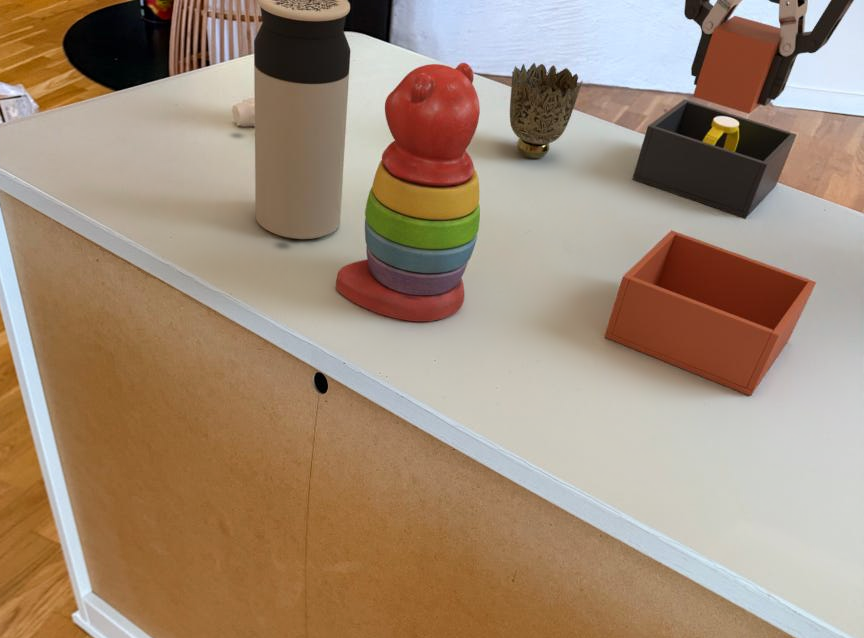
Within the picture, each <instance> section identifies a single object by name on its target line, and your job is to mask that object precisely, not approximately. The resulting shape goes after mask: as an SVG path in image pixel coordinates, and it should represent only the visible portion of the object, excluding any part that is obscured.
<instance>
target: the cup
mask: <svg viewBox="0 0 864 638" xmlns="http://www.w3.org/2000/svg"><path fill="white" fill-rule="evenodd" d="M557 71H558V69H557V68H556V66H555V65H551V66H550V67H549V70H548V71H547V68H546V66H545V65H544V64H543V63H541V64H539V65H536V63H535V62H533V63H532V64H531V66H530V67H529V68H528V69H526V66H525V63H523V64H522V66H521V68H518V67H517V66H516V65H515V66H514V68H513V71H512V72H511V87H510V88H511V89H510V100H509V101H510V102H509V122H510V128H511V130H512V132H513V134H514V135H515V136H516V137H517V138H518V139H517V141H516V149H517V150H516V151H517V152H518V153H519V154H520V155H522V156H524V157H526V158H530V159H540V158H544V157H546V156H547V154H548V153H549V151H550V144H551V143H553V142H555V141H557V140H558V139H560V137H561V136H562V135H563V134H564V132H565V130H566V128H567V127H568V124H569V122H570V119H571V116H572V114H573V111H574V108H575V105H576V102H577V99H578V96H579V93H580V90H581V88H582V85H583V81H584V80H583V79H581V81H579V84H578V80H579V76H578V73H575V74H574V75H573V74H572V72H571V70H570V69H568V68H567V67H565V68H564V69H562V70H560V71H558V72H557Z"/></svg>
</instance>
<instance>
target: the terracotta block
mask: <svg viewBox="0 0 864 638" xmlns="http://www.w3.org/2000/svg"><path fill="white" fill-rule="evenodd" d="M779 41H780V27H777V26H773V25H770V24H766V23H762V22H759V21H756V20H752V19H748V18H744V17H741V16H738V15H733V16H732V17H730V18H729V19H728V20H727V21H725V22H724V23H722V24H720V25H719V26H717V27H715V28H714V31H713V34H712V37H711V40H710V43H709V47H708V50H707V53H706V56H705V59H704V62H703V66H702V69H701V72H700V75H699V78H698V81H697V85H695V88H694V91H693V94H692V97H693V98H696V99H700V100H703V101H706V102H710V103H711V104H716V105H720V106H723V107H725V108H729V109H732V110H735V111H738V112H741V113H745V114H748V115H750V114H751V113H752V112H753V111H754V110H756V109H757V108H758V107H759V106H761V105H760V104H757V102H758V99H759V96H760V93H761V91H762V88H763V85H764V82H765V80H766V77H767V74H768V71H769V69H770V66H771V63H772V60H773V58H774V55H775V54H776V53H777V52H779Z"/></svg>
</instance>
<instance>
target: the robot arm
mask: <svg viewBox="0 0 864 638" xmlns="http://www.w3.org/2000/svg"><path fill="white" fill-rule="evenodd" d="M742 1H743V0H716V2H715V3H714V5H713V4H712V3H711V2H710V0H685V1H684V11H683V14H684V16H685V18H686V19H687V20H690V21H691V20H692V21H693V22H695V23H696V24H697V25H698V26H699V28H700V30H701V34H700V39H699V41H698V44H697V48H696V51H695V54H694V57H693V58H694V59H693V61H692V64H691V68H690V75H691V77H694V81H693V85H694V86H696V85H697V81H698V78H699V75H700V72H701V69H702V66H703V62H704V59H705V56H706V53H707V50H708V47H709V43H710V40H711V37H712V34H713V31H714V28H715V27H717V26H719V25H720V24H722V23H724V22H725V21H727V20H729V19H730V18H731V16H732V15H733V13H734V12H735V10H736V9H737V7H738V6H739V5H740V3H741V2H742ZM768 1H769V2H771V3H774V4H778V22H779V28H780V41H779V52H777V53H776V54H775V55H774V58H773V60H772V63H771V66H770V69H769V71H768V74H767V77H766V80H765V82H764V85H763V88H762V91H761V93H760V96H759V99H758V102H757V104H760V105H759V106H764V107H766V106H768V105H769V104H770V103H771V102H772V101H775V100H776V99H777V98H778V97H779V96H781V94H782V93H783V92H784V91H785V88H786V86H787V83H788V81H789V78H790V75H791V74H792V73H791V72H792V70H793V67H794V64H795V62H796V60H797V57H798V55H800V54H801V55H802V54H815V53H816V52H818V51H819V50H820V49H822V48H823V47H824V46H826V44H827V43H828V42H829V40H830V39H831V37H832V35H833V34H834V32H835V31H836V29H837V28H838V26H839V25H840V23H841V22H842V20H843V19H844V17H845V15H846V14H847V12H848V11H849V9H850V7H851V6H852V4H853V3H854V1H855V0H830V1H829V2H828V5H827V6H826V7H825V9H824V11H823V12H822V14H821V15H820V17H819V19H818V21H816V24H815V25H814V27H813V29H812V30H811V31H805V26H806V25H805V24H806V14H807V12H808V5H809V4H808V3H809V0H768Z"/></svg>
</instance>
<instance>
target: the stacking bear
mask: <svg viewBox="0 0 864 638" xmlns="http://www.w3.org/2000/svg"><path fill="white" fill-rule="evenodd" d="M473 83H474V71H473V69H472V67H471V65H469V64H468V63H467V62H461V63H459V64H458V65H457V66H456V67H455V68H453V67H451V66H449V65H445V64H438V63H431V64H425V65H420V66H418V67H416V68H414V69H413V70H411V71H410V72H408V73H407V74H406V75H405V76H404V77H403V78H402V80H401V81H400V82H399V83H398V84H397V85H396V87H395V88H394V89H393V90H392V91H391V92H389V94H388V95H387V96H386V99H385V102H384V114H385V120H386V123H387V126H388V127H387V128H388V130H389V132H390V134H391V136H392V139H393V141H392V142H390V144H388V145H387V147H386V148H385V149H384V150H383V152H382V154H381V160H380V161H379V164H378V166H377V169H376V171H375V174H374V177H373V181H372V186H371V188H370V190H369V192H368V196H367V200H366V203H365V210H364V240H365V245H366V247H365V250H366V258H367V259H363V260H359V261H355V262H351V263H348V264H346V265H344V266H342V267H341V268H340V269H339V270H338V272H337V275H336V280H335V288H336V289H337V291H338V292H339V293H340V294H341V295H342V296H344V297H345V298H347V299H348V300H350V301H351V302H353V303H355V304H356V305H359V306H360V307H363V308H365V309H367V310H370V311H372V312H374V313H376V314H377V313H378V314H380V315H383V316H387V317H390V318H394V319H398V320H403V321H404V320H405V321H409V322H433V321H438V320H442V319H446V318H448V317H450V316H452V315H454V314H456V312H458V311H459V310H460V309H461V308H462V307H463V305H464V301H465V286H464V280H463V276H464V273H465V272H466V269H467V266H468V263H469V261H470V259H471V257H472V255H473V252H474V250H475V246H476V243H477V240H478V233H479V229H480V217H481V207H480V180H479V179H480V178H479V175H478V173H477V171H476V169H475V165H474V162H473V160H472V158H471V156H470V154H469V153H468V152H467V149H468V147H469V146H470V144H471V142H472V140H473V138H474V136H475V134H476V131H477V128H478V126H479V119H480V112H481V107H480V106H481V105H480V100H479V96H478V92H477V90H476V88H475V86H474V85H473Z"/></svg>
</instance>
